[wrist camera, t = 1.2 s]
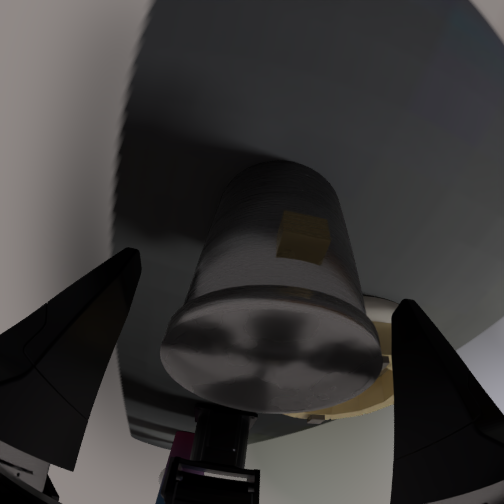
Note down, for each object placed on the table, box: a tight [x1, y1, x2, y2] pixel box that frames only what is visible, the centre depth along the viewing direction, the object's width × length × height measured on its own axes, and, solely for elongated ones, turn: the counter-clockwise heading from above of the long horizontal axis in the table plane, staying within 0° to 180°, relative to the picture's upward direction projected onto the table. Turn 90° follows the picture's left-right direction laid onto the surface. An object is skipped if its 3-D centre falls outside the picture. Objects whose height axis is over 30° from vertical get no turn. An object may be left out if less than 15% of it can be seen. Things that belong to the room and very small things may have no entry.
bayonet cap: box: [160, 161, 383, 414], centre depth 9 cm, size 6×5×7 cm
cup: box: [156, 431, 204, 504], centre depth 32 cm, size 7×7×15 cm
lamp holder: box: [285, 296, 399, 424], centre depth 17 cm, size 11×11×4 cm
